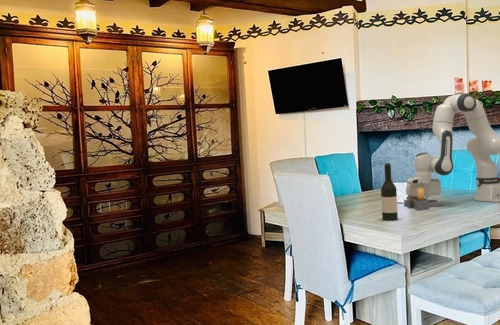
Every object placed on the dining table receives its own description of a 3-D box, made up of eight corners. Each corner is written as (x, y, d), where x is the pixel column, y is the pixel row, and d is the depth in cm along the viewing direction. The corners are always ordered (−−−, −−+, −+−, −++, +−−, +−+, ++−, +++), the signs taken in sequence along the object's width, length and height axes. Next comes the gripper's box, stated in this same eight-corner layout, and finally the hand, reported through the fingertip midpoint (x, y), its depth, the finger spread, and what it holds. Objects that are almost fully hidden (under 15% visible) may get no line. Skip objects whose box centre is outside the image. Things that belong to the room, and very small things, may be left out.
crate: (416, 204, 269) (416, 195, 269) (420, 205, 263) (420, 197, 263) (406, 204, 269) (406, 196, 269) (410, 206, 263) (409, 197, 263)
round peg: (422, 203, 258) (422, 188, 258) (425, 204, 255) (425, 188, 254) (416, 203, 258) (416, 188, 258) (419, 204, 255) (419, 188, 254)
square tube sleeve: (424, 207, 260) (424, 198, 260) (429, 209, 253) (428, 200, 253) (412, 208, 260) (412, 199, 260) (417, 210, 253) (416, 200, 253)
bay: (436, 203, 271) (436, 197, 271) (443, 206, 261) (443, 200, 261) (404, 205, 271) (404, 199, 271) (409, 208, 261) (409, 202, 261)
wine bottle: (379, 218, 238) (376, 163, 236) (394, 217, 238) (391, 162, 237) (385, 221, 229) (382, 164, 228) (400, 220, 230) (398, 163, 228)
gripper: (438, 177, 268) (439, 200, 269) (404, 180, 268) (405, 202, 269) (442, 179, 262) (443, 201, 263) (408, 181, 262) (409, 204, 263)
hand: (423, 202), depth 266 cm, fingers closed
